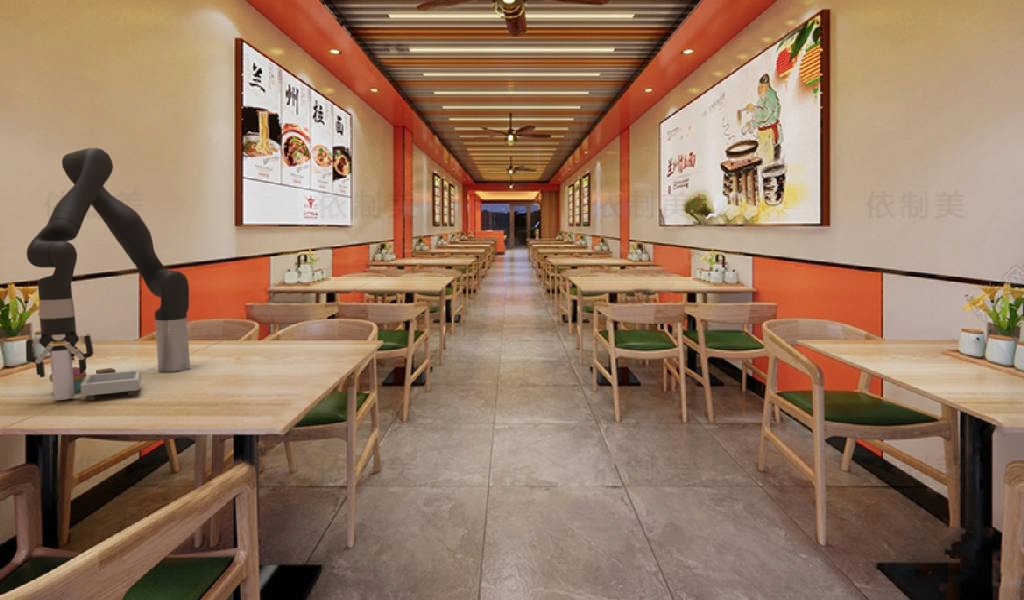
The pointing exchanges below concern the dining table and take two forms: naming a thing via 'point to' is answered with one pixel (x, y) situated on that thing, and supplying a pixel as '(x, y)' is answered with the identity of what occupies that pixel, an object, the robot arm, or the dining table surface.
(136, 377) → the cart
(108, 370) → the walnut block
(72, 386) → the perfume bottle
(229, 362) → the dining table surface
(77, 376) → the cupcake
